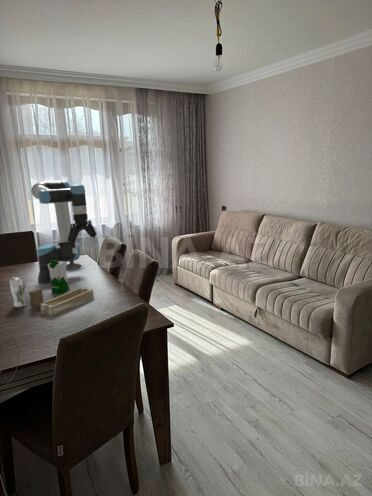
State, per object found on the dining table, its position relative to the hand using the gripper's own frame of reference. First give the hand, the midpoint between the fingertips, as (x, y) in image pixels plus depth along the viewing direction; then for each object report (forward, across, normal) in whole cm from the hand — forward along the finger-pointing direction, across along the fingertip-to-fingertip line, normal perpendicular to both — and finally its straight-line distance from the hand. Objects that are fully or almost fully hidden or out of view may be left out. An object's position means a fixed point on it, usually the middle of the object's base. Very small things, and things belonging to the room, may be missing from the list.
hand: (84, 250), depth 196 cm
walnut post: (+26, -28, +9) cm, 39 cm away
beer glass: (+26, -28, +22) cm, 44 cm away
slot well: (+25, -19, -3) cm, 32 cm away
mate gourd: (+26, +42, +54) cm, 73 cm away
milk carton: (+26, -5, +17) cm, 31 cm away
